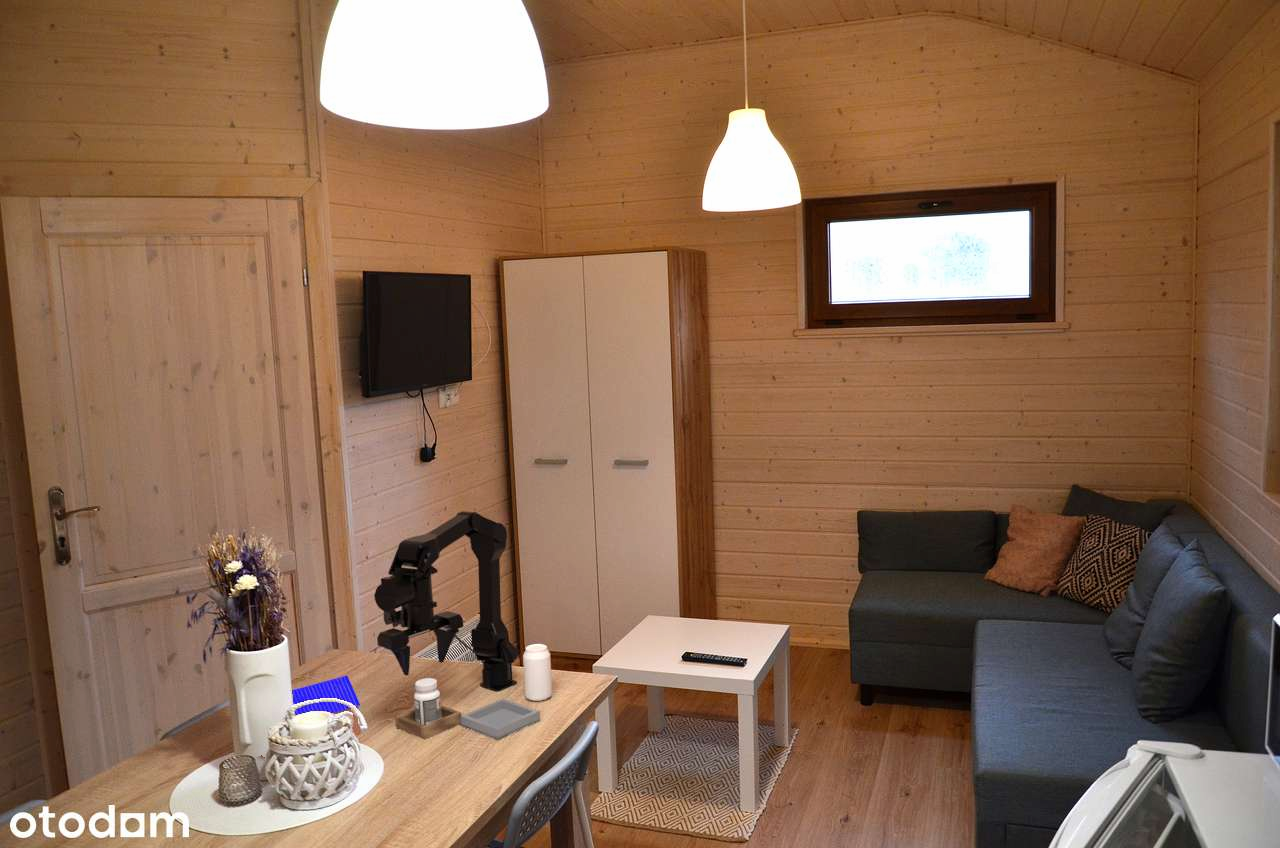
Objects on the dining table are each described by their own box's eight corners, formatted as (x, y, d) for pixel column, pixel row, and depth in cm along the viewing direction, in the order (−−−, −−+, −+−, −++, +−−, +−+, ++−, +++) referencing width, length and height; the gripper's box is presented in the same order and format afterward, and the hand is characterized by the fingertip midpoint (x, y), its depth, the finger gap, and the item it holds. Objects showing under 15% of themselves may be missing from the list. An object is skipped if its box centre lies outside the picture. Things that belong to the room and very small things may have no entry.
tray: (503, 708, 223) (502, 698, 223) (540, 721, 215) (539, 710, 215) (461, 726, 214) (460, 716, 214) (498, 740, 206) (497, 729, 206)
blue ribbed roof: (362, 735, 212) (358, 682, 211) (268, 764, 199) (263, 708, 198) (340, 719, 221) (336, 668, 220) (248, 746, 209) (244, 692, 207)
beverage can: (553, 692, 231) (550, 642, 230) (551, 702, 225) (548, 651, 224) (526, 693, 231) (523, 643, 230) (524, 703, 225) (521, 652, 224)
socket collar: (433, 713, 222) (432, 702, 222) (462, 723, 215) (461, 712, 215) (396, 728, 214) (395, 717, 214) (424, 739, 208) (423, 728, 207)
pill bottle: (445, 720, 217) (443, 676, 216) (437, 731, 212) (435, 686, 211) (420, 720, 218) (417, 677, 217) (412, 731, 212) (409, 686, 211)
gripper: (431, 582, 224) (435, 649, 226) (359, 602, 210) (365, 673, 212) (462, 589, 217) (467, 658, 219) (390, 611, 203) (396, 685, 205)
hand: (423, 668), depth 214 cm, fingers open, 9 cm apart
